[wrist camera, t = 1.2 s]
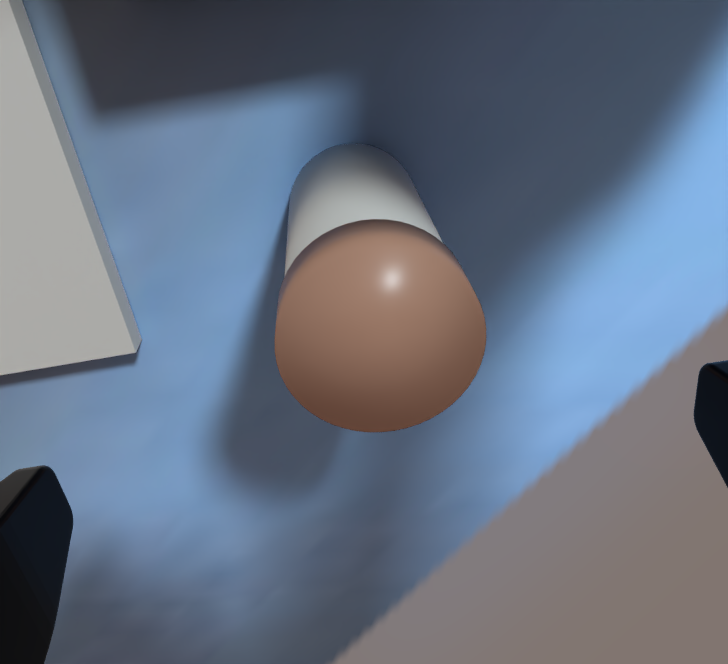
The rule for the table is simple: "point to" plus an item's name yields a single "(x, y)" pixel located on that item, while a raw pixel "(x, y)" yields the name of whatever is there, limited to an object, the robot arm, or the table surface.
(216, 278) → the table surface
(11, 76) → the picture board
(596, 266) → the table surface
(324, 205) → the light grey cylinder
